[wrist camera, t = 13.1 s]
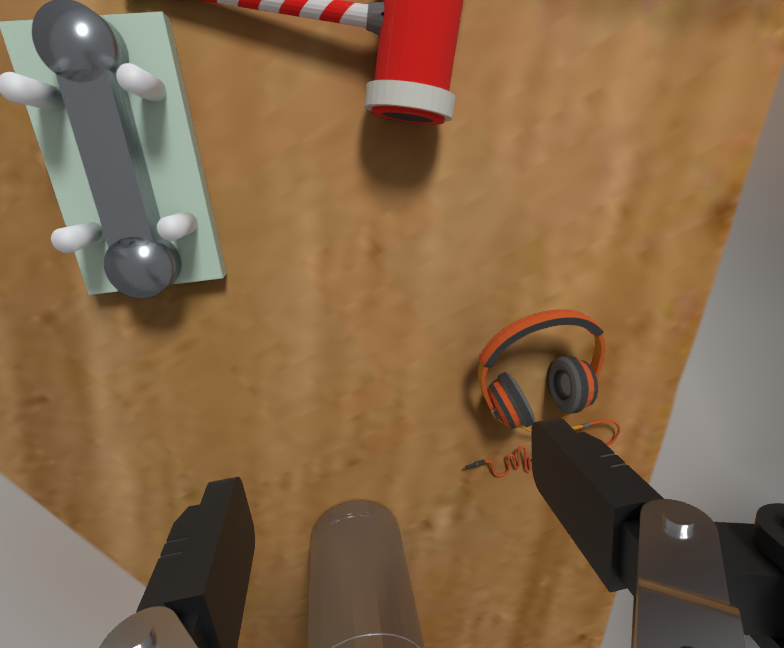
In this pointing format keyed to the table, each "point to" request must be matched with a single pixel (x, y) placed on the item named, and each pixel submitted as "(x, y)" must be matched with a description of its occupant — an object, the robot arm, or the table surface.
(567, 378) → the headphones
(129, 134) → the grey ball-ended rod
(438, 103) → the toy hammer
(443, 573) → the table surface
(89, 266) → the tool rack
